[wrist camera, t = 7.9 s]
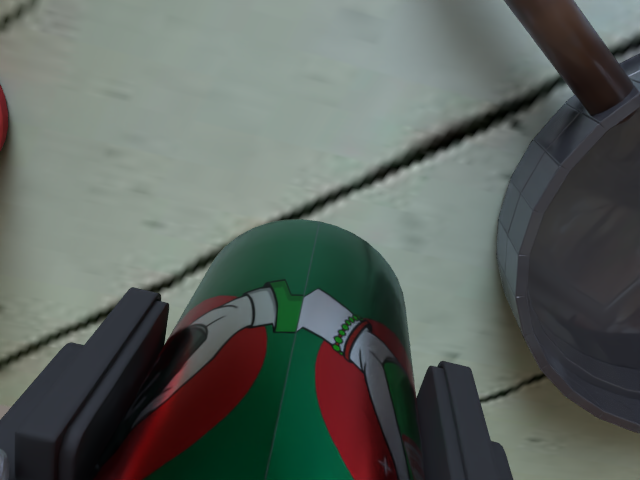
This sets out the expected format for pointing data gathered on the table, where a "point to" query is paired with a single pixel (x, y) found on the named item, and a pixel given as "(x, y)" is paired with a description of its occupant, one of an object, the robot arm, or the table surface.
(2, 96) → the canned food
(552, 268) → the pan
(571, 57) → the pan handle
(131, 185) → the table surface
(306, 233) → the soda can
